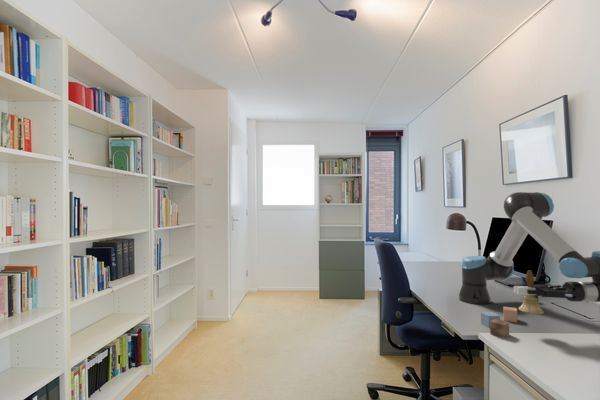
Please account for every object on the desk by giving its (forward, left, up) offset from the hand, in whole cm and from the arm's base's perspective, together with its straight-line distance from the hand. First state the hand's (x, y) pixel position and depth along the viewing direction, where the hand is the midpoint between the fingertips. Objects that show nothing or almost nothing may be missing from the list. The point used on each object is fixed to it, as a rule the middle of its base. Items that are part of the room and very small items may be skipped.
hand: (516, 290), depth 131 cm
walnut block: (-2, -7, -17) cm, 19 cm away
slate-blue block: (-10, -1, -17) cm, 20 cm away
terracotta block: (-11, +14, -17) cm, 25 cm away
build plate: (-24, +53, -18) cm, 61 cm away
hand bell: (+3, +5, -8) cm, 10 cm away
